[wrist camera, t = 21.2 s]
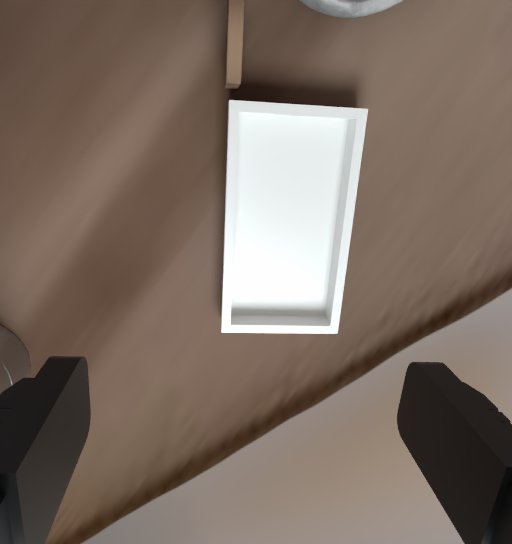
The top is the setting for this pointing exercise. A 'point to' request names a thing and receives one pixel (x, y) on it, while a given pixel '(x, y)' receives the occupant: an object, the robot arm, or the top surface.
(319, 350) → the top surface
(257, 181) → the tray
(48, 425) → the robot arm
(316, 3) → the dish
